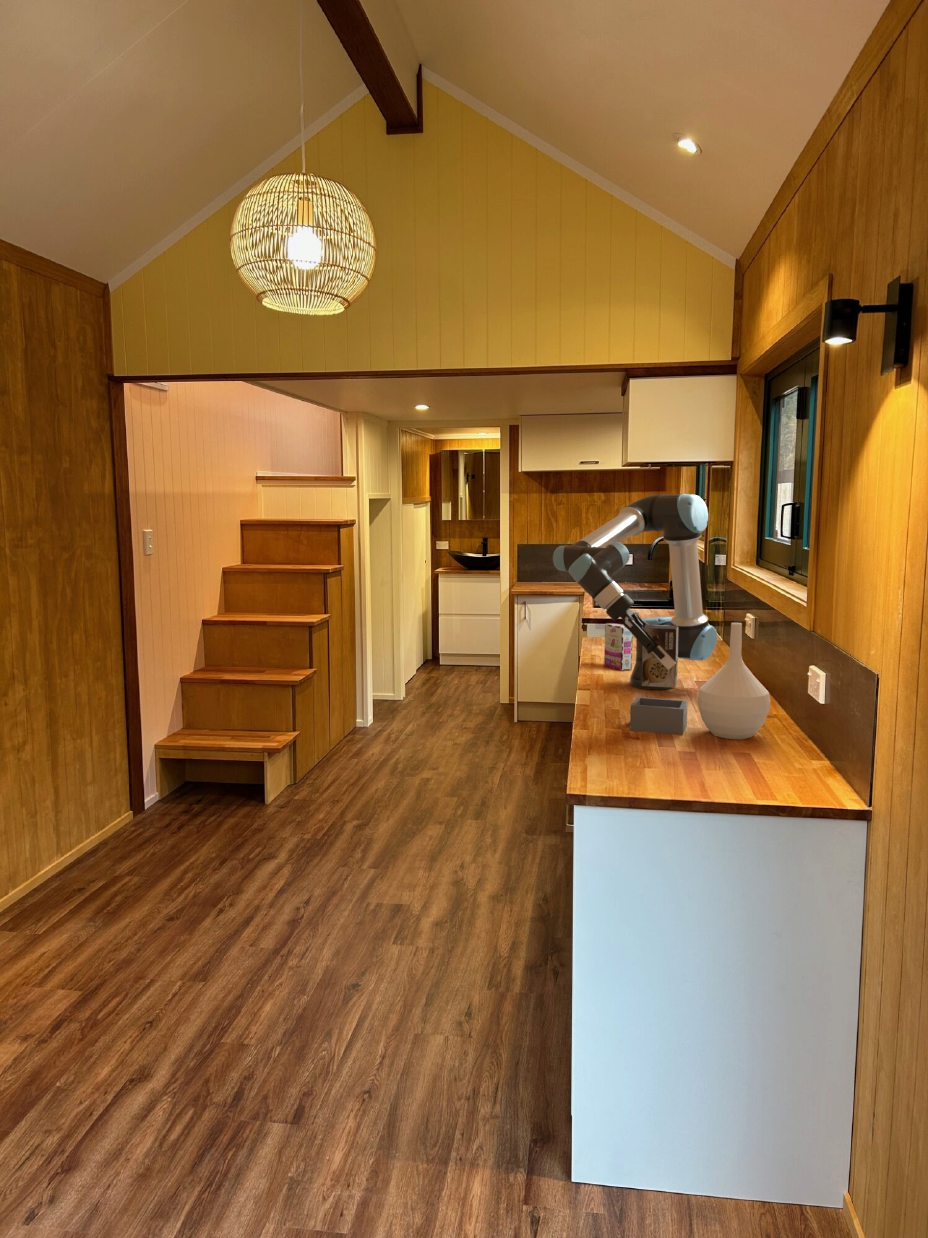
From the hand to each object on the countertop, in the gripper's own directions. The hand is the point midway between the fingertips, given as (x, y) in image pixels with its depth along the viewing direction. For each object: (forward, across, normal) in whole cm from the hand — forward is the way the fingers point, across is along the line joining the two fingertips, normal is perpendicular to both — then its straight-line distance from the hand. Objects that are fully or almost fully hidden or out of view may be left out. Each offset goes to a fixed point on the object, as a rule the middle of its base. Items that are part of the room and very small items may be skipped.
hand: (673, 664), depth 230 cm
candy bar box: (-8, -83, -33) cm, 90 cm away
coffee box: (+2, 0, -7) cm, 7 cm away
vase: (+24, +1, -2) cm, 24 cm away
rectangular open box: (+10, 0, -15) cm, 18 cm away
